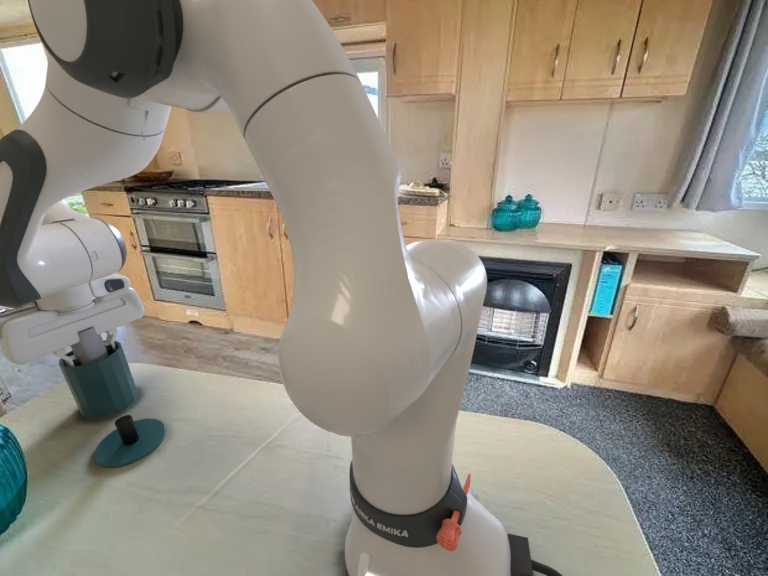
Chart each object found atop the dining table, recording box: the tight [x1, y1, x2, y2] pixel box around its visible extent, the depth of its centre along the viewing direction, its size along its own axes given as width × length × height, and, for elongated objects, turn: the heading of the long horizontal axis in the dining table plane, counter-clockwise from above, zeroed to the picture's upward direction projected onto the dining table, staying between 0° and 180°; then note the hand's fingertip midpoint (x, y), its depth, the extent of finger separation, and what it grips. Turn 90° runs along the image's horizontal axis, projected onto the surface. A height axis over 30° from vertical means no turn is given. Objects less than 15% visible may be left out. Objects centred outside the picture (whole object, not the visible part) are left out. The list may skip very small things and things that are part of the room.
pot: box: [58, 339, 139, 419], centre depth 68 cm, size 9×9×12 cm
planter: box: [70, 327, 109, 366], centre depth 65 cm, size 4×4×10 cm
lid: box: [93, 414, 167, 469], centre depth 59 cm, size 10×10×6 cm
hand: (93, 357), depth 66 cm, fingers closed on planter, 4 cm apart
